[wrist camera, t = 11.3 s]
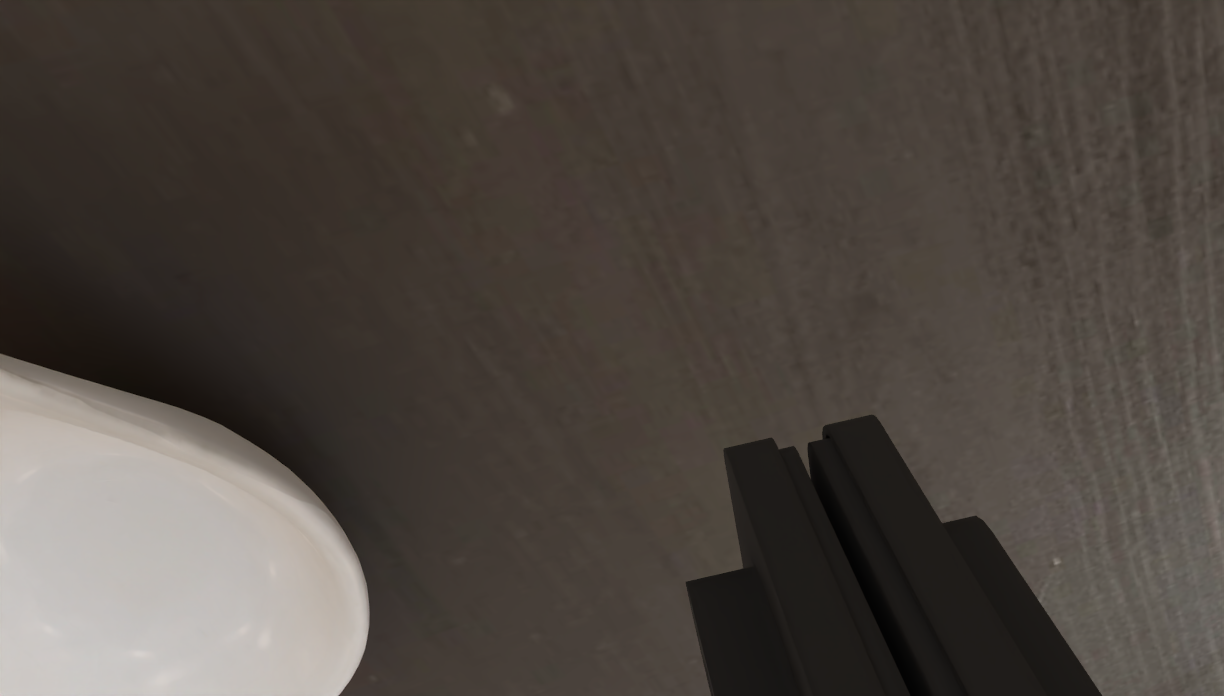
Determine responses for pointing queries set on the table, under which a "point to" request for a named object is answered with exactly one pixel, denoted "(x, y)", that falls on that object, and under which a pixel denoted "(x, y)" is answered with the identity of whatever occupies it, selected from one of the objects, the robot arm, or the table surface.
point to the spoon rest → (161, 554)
